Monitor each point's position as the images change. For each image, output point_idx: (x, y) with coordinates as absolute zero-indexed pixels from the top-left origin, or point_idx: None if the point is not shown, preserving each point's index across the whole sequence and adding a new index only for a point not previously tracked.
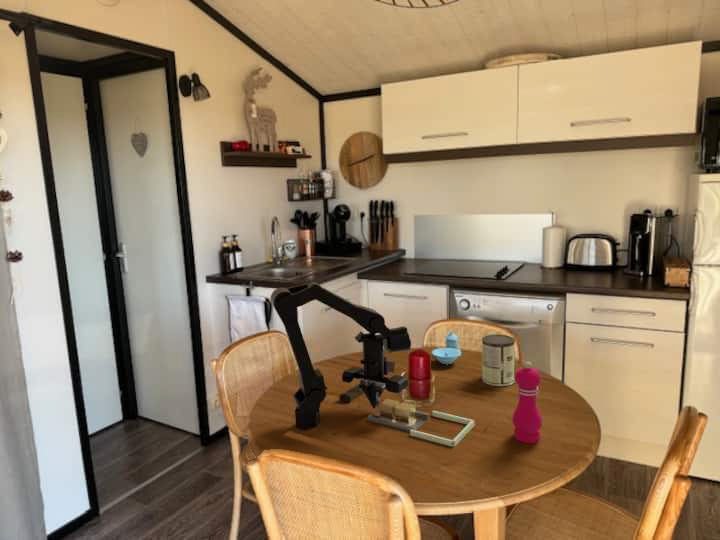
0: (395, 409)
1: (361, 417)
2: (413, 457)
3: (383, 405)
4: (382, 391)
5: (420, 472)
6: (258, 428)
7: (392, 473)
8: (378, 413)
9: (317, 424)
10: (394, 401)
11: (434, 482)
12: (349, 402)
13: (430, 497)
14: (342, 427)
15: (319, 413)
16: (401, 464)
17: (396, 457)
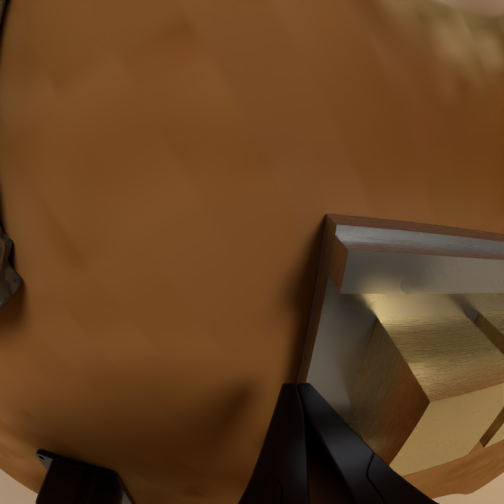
0: (480, 440)
1: (198, 383)
2: (478, 451)
3: (408, 469)
4: (416, 501)
5: (482, 467)
6: (10, 473)
7: (430, 498)
8: (317, 365)
9: (114, 499)
10: (491, 398)
11: (498, 464)
12: (11, 295)
13: (483, 483)
14: (184, 467)
15: (79, 499)
16: (449, 478)
17: (439, 475)
